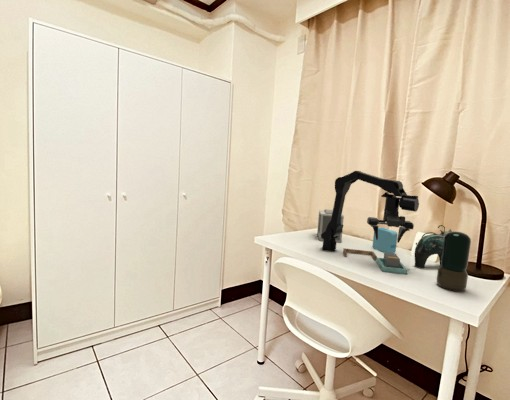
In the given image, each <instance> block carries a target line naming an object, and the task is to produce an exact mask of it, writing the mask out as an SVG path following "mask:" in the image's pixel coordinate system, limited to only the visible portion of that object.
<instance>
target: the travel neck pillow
mask: <svg viewBox="0 0 510 400" xmlns="http://www.w3.org/2000/svg"><path fill="white" fill-rule="evenodd" d="M440 227H442V228H443V230H441V229H440V230H439V232H440V233H439V234H438V233H436V232H432V231H429V232H425V233H424V234H422V236H421V238H420V239H419V240H418V241H417V244H416V246H415V249H414V267H415V268H418V269H424V268H426V263H427V260H428V259H429V258H430V257H431V256H433V255H437V256H438V258H439V267H440V266H441V256H442V249H443V241H444V236H445V235H446V234H447V233H448V232H453V231H452V229H451V228H449V230H448V231H447V230H446V227H445V225H442V224H441V225H438V226H437V229H439V228H440Z"/></svg>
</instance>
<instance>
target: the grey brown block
mask: <svg viewBox="0 0 510 400" xmlns="http://www.w3.org/2000/svg"><path fill="white" fill-rule="evenodd" d="M383 258H384V259H383V263H384V265H385V267H392V268H399V264H400V262H401V258H399V256H398V255H397V254H396V253H385V252H383Z"/></svg>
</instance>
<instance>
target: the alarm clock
mask: <svg viewBox="0 0 510 400" xmlns="http://www.w3.org/2000/svg"><path fill="white" fill-rule="evenodd" d="M332 212H333V209H326V208H325V209H323V210H319V211H318V218H317V219H318V220H317V230H316V231H317V233H316V235H317V237H318V241H319V242H322V243H323V239H322V238H321V234H322V233H324V232H325V231H326V228H327V225H328V223H329V222H330V220H331V217H332ZM344 217H345V215H344V214H343V213H342V215H341V220H340V222H341V225H343V226H344ZM343 230H344V229H342V231H343ZM342 238H343V232H341V234H340V235H338V237H337V238H335V239H336V240H335V241H336V244H342V242H343V241H342V240H343V239H342Z"/></svg>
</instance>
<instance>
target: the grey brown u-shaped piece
mask: <svg viewBox="0 0 510 400" xmlns="http://www.w3.org/2000/svg"><path fill="white" fill-rule="evenodd" d="M342 254H343V256H344V258H347V257H348V254H354V255H362V256H363V255H364V256H371V257H372V259H373V261H376V257H377V258H378V256H377V255H376V253H375V251H372V250H364V249H355V248H354V249H353V248H346V247H345V248H343V250H342Z"/></svg>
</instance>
